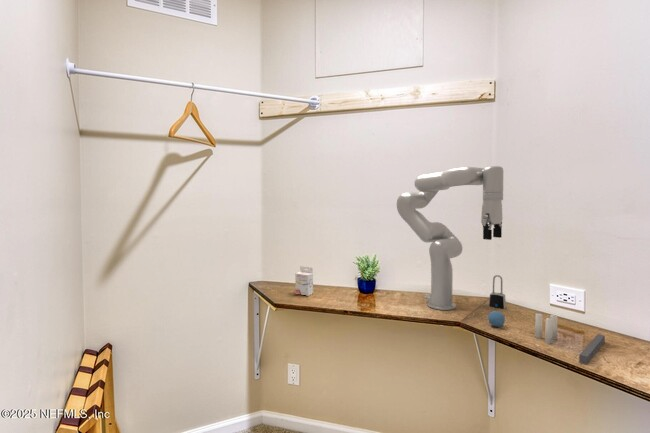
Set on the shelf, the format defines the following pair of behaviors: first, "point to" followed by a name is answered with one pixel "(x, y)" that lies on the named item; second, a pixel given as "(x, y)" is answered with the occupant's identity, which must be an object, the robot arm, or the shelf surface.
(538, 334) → the front pin
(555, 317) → the pin
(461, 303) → the shelf surface
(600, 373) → the shelf surface
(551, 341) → the pin
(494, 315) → the ball
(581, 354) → the grey long square bar
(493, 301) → the padlock
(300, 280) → the ink cartridge box
